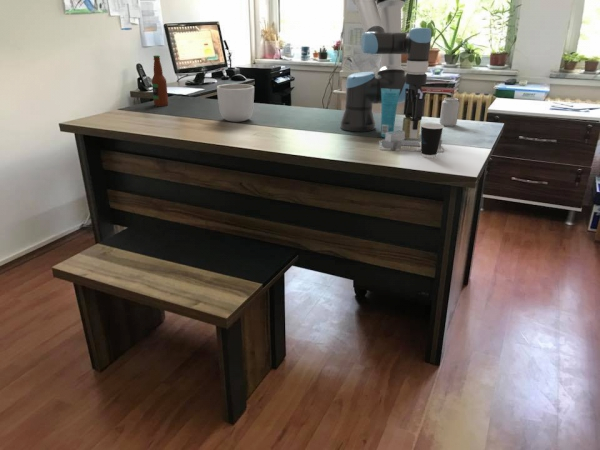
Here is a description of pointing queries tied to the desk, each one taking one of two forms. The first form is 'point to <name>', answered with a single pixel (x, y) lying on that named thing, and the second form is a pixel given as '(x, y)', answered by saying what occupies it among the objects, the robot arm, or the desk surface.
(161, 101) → the bottle
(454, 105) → the can
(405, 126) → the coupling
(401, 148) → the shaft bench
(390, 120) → the tube
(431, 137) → the dixie cup
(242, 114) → the planter
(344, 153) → the desk surface
